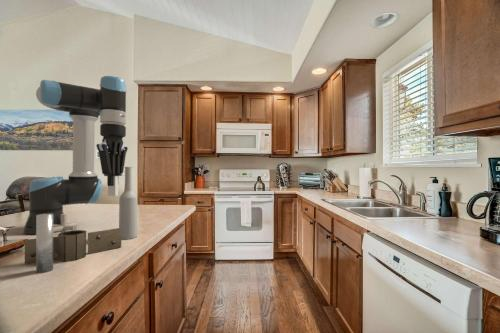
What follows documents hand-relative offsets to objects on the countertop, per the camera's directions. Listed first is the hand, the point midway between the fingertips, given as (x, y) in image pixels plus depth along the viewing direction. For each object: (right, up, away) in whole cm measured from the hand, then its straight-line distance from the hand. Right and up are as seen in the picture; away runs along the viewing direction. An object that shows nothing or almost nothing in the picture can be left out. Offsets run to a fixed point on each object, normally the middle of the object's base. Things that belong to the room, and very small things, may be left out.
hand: (113, 195), depth 87 cm
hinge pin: (-10, -18, -16) cm, 26 cm away
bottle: (-3, -19, +17) cm, 26 cm away
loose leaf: (-3, -18, 0) cm, 18 cm away
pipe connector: (-25, -19, +12) cm, 33 cm away
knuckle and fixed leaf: (-13, -18, -8) cm, 24 cm away
